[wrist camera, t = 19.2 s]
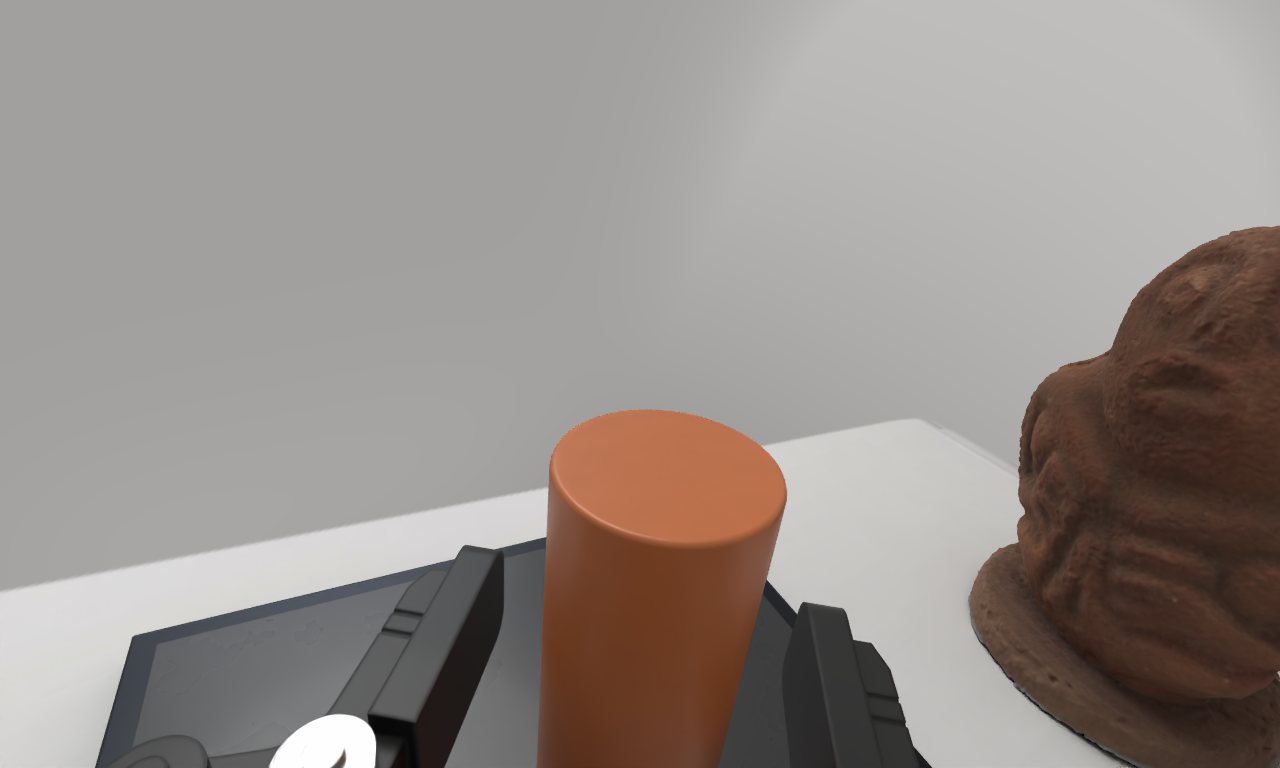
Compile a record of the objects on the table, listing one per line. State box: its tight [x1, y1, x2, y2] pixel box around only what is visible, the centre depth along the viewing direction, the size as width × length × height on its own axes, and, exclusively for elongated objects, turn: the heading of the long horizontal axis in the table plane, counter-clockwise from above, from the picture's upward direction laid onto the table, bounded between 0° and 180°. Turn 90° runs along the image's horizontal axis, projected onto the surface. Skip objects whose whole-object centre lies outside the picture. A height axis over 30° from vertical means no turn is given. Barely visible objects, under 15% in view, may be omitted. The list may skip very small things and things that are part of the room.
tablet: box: [95, 537, 932, 768], centre depth 15 cm, size 15×19×1 cm
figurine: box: [968, 226, 1280, 768], centre depth 18 cm, size 9×10×15 cm
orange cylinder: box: [536, 410, 787, 768], centre depth 10 cm, size 3×3×11 cm
